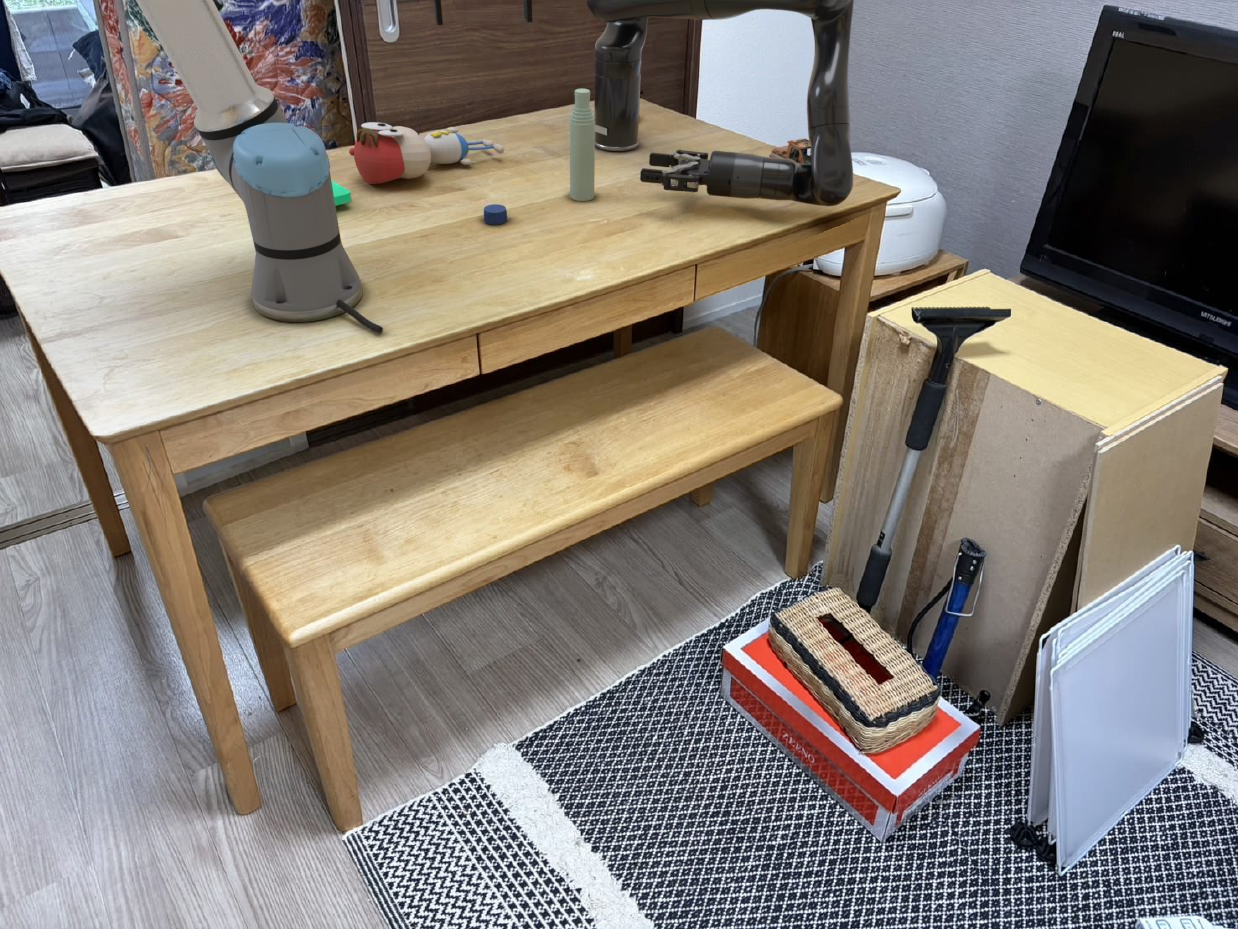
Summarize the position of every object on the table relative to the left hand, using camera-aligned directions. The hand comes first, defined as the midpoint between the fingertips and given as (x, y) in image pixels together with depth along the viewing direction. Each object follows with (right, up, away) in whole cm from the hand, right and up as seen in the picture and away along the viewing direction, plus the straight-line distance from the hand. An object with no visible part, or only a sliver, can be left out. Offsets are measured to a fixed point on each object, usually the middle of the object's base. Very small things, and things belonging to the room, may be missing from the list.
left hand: (484, 21), depth 141 cm
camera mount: (-33, -21, +23) cm, 45 cm away
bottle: (+14, -18, +29) cm, 37 cm away
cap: (-1, -24, +18) cm, 30 cm away
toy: (-16, -10, +38) cm, 43 cm away
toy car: (+55, -11, +40) cm, 69 cm away
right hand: (+25, -15, +23) cm, 37 cm away
